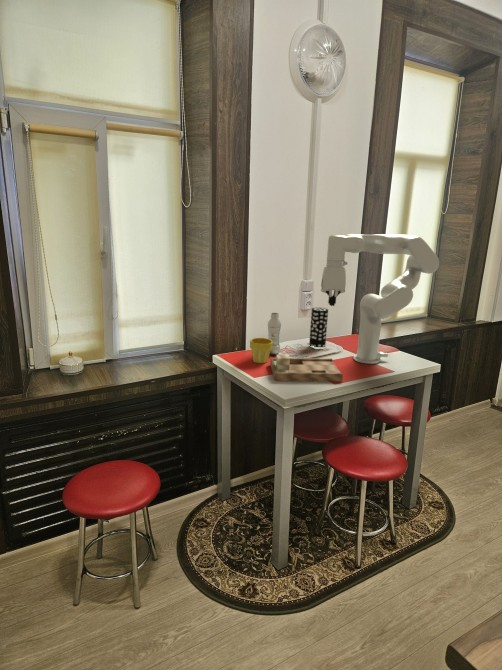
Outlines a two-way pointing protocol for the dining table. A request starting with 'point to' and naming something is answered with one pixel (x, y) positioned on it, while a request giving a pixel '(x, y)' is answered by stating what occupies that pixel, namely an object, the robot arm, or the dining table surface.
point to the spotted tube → (318, 327)
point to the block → (282, 362)
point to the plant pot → (260, 349)
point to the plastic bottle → (274, 332)
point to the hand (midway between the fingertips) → (331, 305)
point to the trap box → (307, 370)
